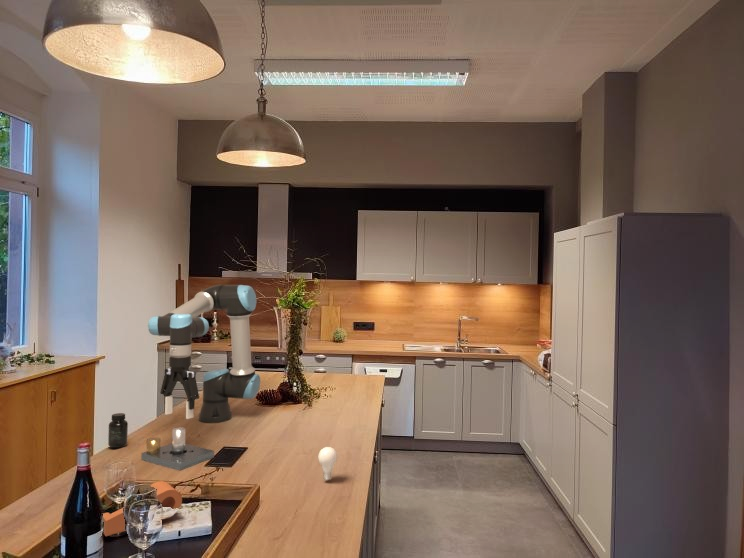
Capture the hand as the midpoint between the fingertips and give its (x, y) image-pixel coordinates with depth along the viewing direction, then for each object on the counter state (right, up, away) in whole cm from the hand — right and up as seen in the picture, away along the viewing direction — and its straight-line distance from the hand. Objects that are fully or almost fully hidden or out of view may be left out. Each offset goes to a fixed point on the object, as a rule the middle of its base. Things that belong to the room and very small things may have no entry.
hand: (179, 415), depth 195 cm
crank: (+7, -16, -48) cm, 52 cm away
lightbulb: (+56, -17, -18) cm, 61 cm away
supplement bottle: (-30, -15, +14) cm, 36 cm away
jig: (0, -16, 0) cm, 16 cm away
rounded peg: (0, -16, 0) cm, 16 cm away
